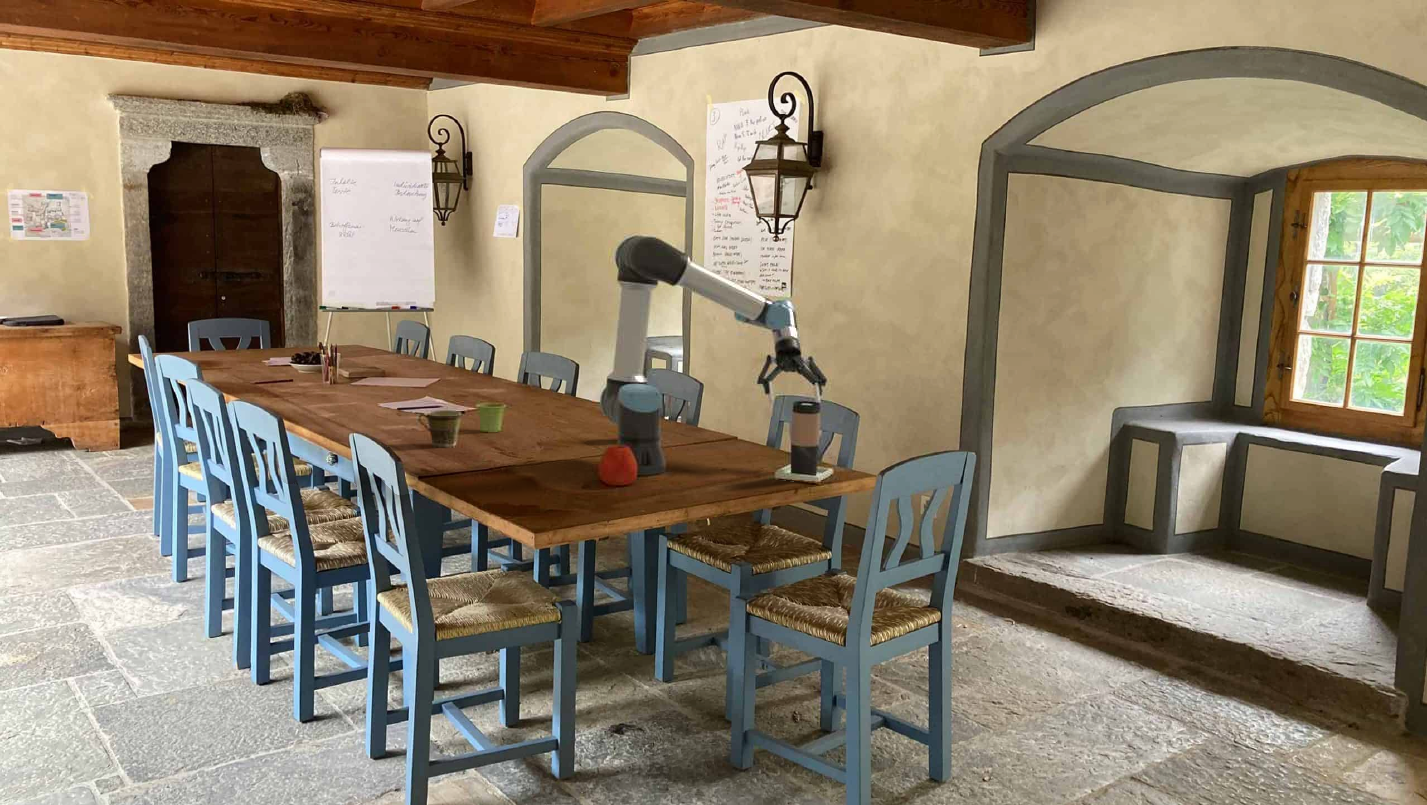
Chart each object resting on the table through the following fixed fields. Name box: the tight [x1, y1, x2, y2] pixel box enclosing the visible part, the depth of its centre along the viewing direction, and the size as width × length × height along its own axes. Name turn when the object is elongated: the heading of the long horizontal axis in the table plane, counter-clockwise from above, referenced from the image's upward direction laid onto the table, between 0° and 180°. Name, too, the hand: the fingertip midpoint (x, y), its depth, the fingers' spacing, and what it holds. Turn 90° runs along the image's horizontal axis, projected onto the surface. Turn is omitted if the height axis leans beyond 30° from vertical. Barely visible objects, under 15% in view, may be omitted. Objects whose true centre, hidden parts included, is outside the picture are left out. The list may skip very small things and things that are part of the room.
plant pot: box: [476, 402, 507, 433], centre depth 360 cm, size 9×9×9 cm
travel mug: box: [790, 400, 821, 476], centre depth 304 cm, size 8×8×20 cm
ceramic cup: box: [418, 410, 462, 448], centre depth 335 cm, size 13×10×10 cm
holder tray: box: [774, 463, 834, 482], centre depth 305 cm, size 12×12×2 cm
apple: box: [598, 444, 638, 487], centre depth 291 cm, size 10×10×10 cm
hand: (795, 403), depth 315 cm, fingers open, 13 cm apart
